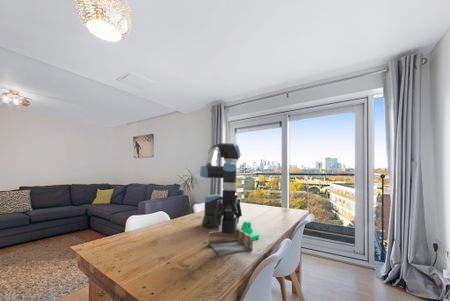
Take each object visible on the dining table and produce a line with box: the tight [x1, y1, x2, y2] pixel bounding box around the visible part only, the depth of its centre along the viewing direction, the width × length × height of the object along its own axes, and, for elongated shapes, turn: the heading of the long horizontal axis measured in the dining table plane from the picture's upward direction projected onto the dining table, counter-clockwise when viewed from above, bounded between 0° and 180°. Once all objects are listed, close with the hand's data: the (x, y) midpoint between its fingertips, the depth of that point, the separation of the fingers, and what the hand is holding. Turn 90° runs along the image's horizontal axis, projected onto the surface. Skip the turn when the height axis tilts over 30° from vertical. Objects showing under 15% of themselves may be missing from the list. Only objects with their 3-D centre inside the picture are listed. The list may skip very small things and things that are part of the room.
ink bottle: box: [221, 209, 236, 234], centre depth 113 cm, size 10×9×12 cm
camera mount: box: [240, 220, 260, 241], centre depth 128 cm, size 12×8×10 cm, turn 128°
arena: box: [208, 227, 254, 257], centre depth 114 cm, size 16×20×7 cm
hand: (228, 229), depth 113 cm, fingers closed on ink bottle, 9 cm apart
